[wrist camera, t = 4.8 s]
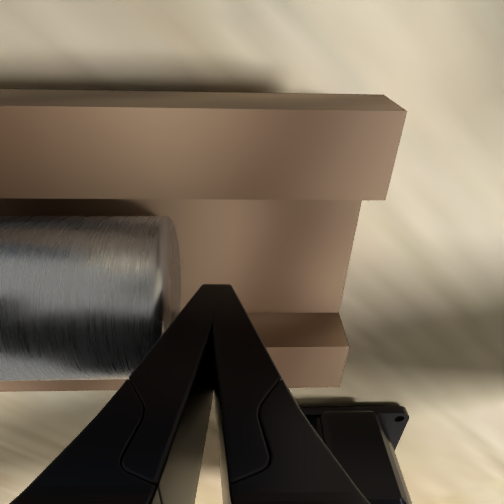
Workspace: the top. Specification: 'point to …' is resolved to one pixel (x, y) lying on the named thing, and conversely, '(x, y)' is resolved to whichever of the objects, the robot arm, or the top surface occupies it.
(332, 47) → the top surface
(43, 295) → the axle
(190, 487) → the robot arm
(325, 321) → the beam
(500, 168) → the top surface
